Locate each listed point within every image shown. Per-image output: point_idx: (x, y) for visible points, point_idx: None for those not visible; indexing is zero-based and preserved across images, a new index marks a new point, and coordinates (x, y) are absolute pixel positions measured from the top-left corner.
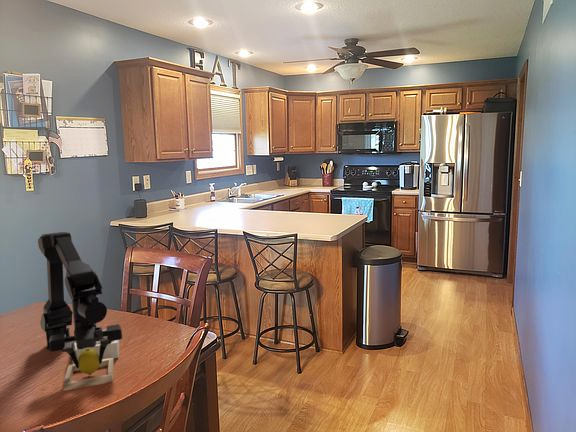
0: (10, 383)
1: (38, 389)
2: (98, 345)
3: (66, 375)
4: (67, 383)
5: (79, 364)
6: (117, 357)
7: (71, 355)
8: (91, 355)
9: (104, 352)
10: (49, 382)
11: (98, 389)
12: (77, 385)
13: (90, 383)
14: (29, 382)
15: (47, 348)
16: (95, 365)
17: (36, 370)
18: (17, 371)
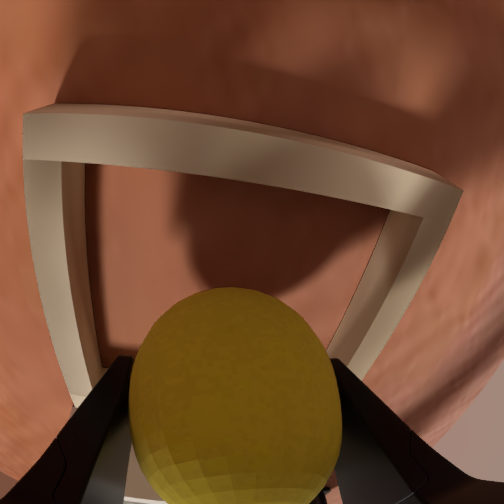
0: (498, 355)
1: (491, 271)
2: (161, 501)
3: (393, 323)
4: (438, 189)
5: (335, 379)
6: (76, 409)
7: (439, 465)
8: (204, 460)
9: (133, 455)
10: (436, 320)
11: (185, 13)
12: (360, 150)
13: (245, 124)
14: (473, 346)
15: (328, 488)
16: (167, 329)
17: (411, 414)
18: (445, 414)
